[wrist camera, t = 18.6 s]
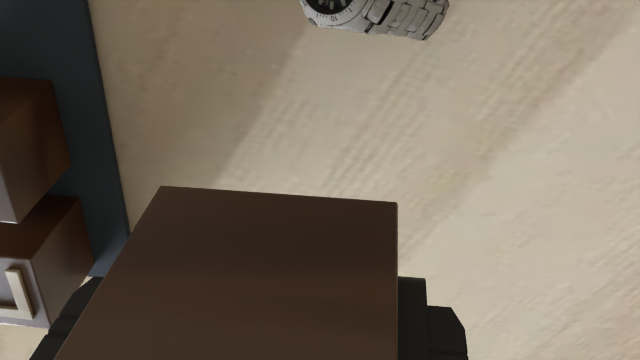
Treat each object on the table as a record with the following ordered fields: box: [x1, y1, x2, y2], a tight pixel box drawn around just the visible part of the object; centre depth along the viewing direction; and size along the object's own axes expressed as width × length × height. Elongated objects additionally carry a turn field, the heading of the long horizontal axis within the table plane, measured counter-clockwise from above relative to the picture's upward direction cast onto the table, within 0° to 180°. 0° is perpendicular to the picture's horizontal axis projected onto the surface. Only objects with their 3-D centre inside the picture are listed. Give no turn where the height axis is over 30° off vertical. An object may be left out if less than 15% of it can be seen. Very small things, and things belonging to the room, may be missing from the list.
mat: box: [0, 0, 130, 277], centre depth 29 cm, size 20×9×1 cm, turn 179°
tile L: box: [0, 194, 95, 329], centre depth 30 cm, size 5×5×5 cm
